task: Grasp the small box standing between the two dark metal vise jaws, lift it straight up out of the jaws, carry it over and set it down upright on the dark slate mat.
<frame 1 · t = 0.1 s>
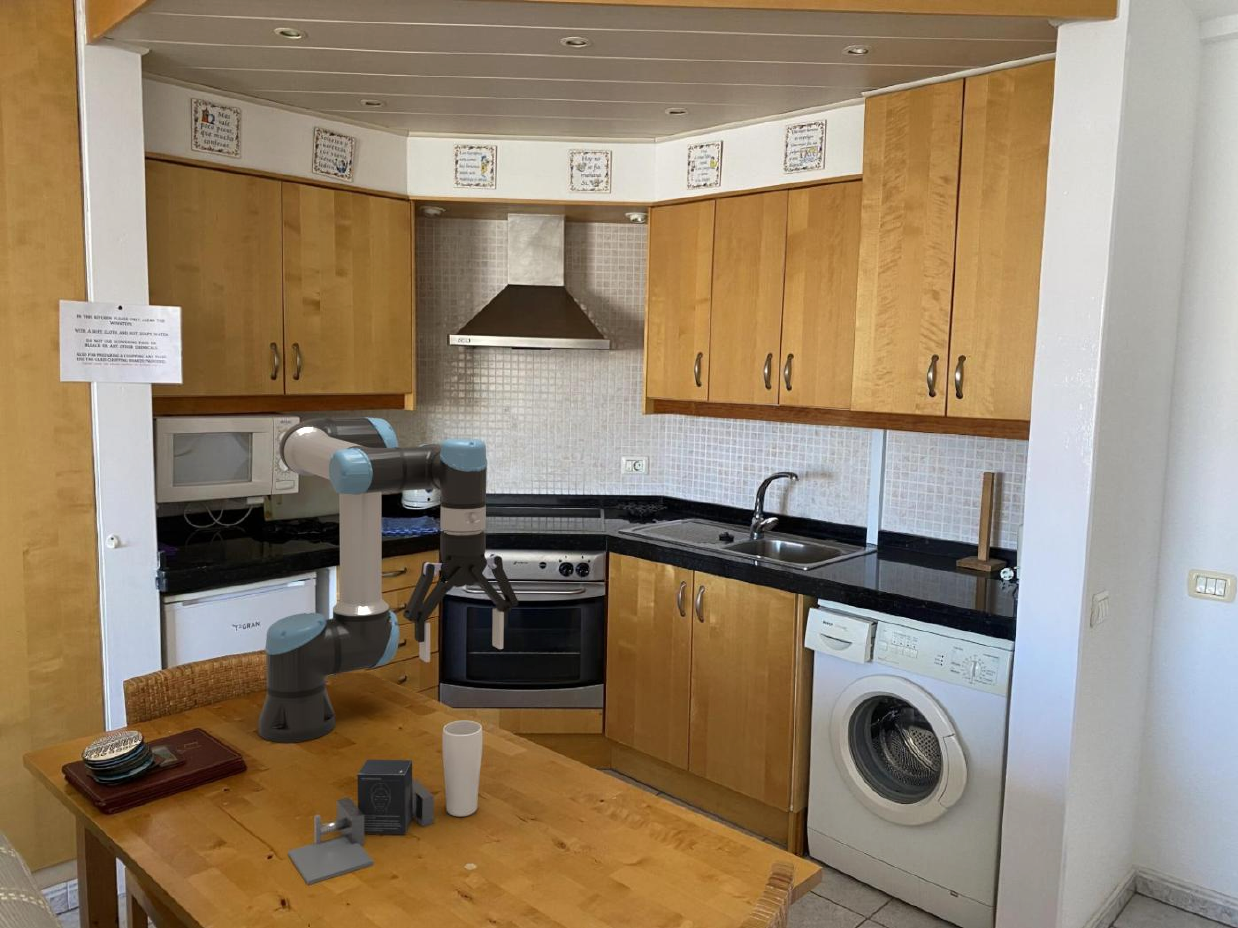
hand: (462, 653, 157), 28 cm above the table, fingers open, 13 cm apart
mat: (330, 859, 143), on the table
drinking glass: (461, 811, 159), on the table
box: (385, 827, 153), on the table
vise: (385, 826, 153), on the table
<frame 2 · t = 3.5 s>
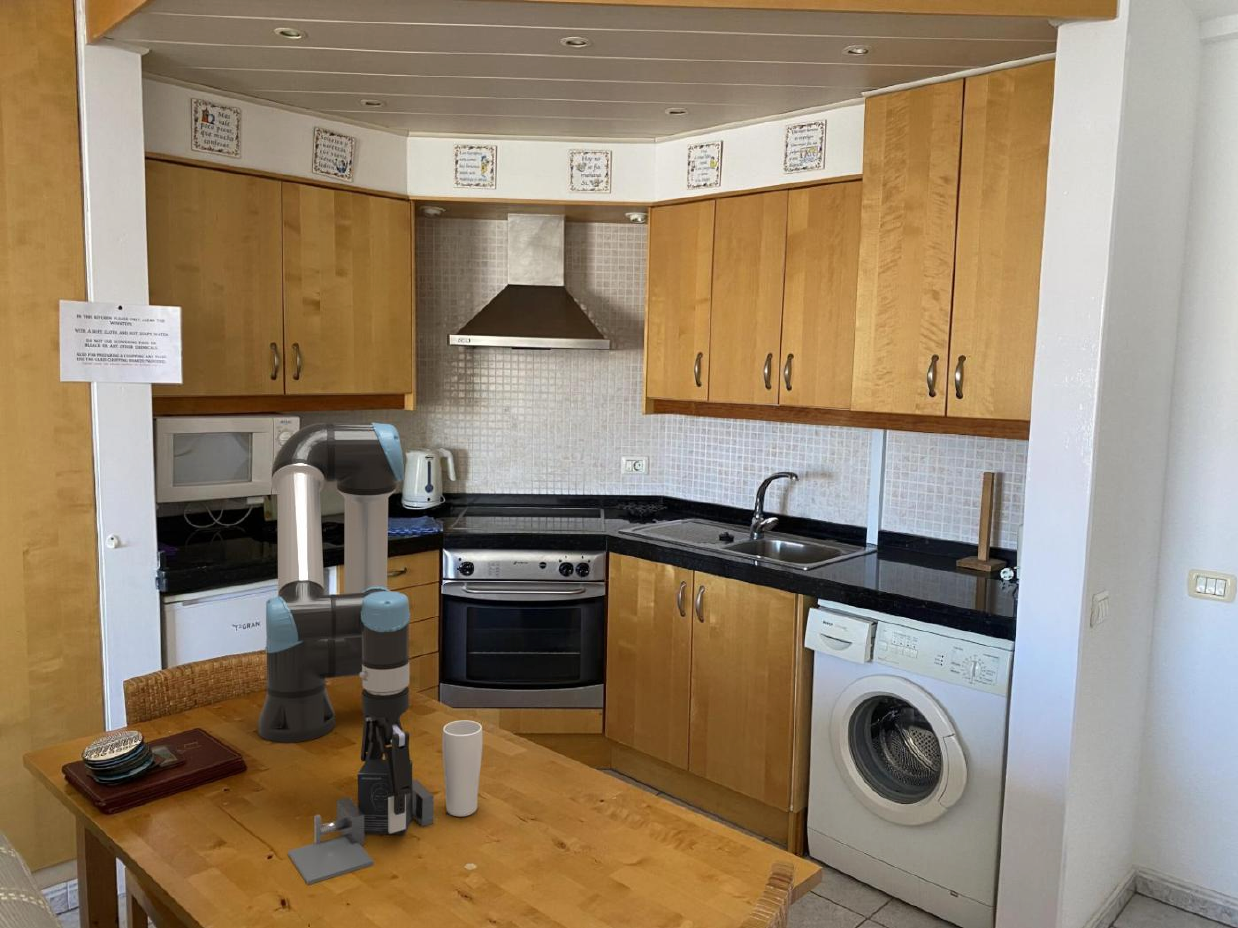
hand: (385, 817, 153), 1 cm above the table, fingers closed on box, 9 cm apart
box: (385, 827, 153), on the table, touching gripper
everything else where it was.
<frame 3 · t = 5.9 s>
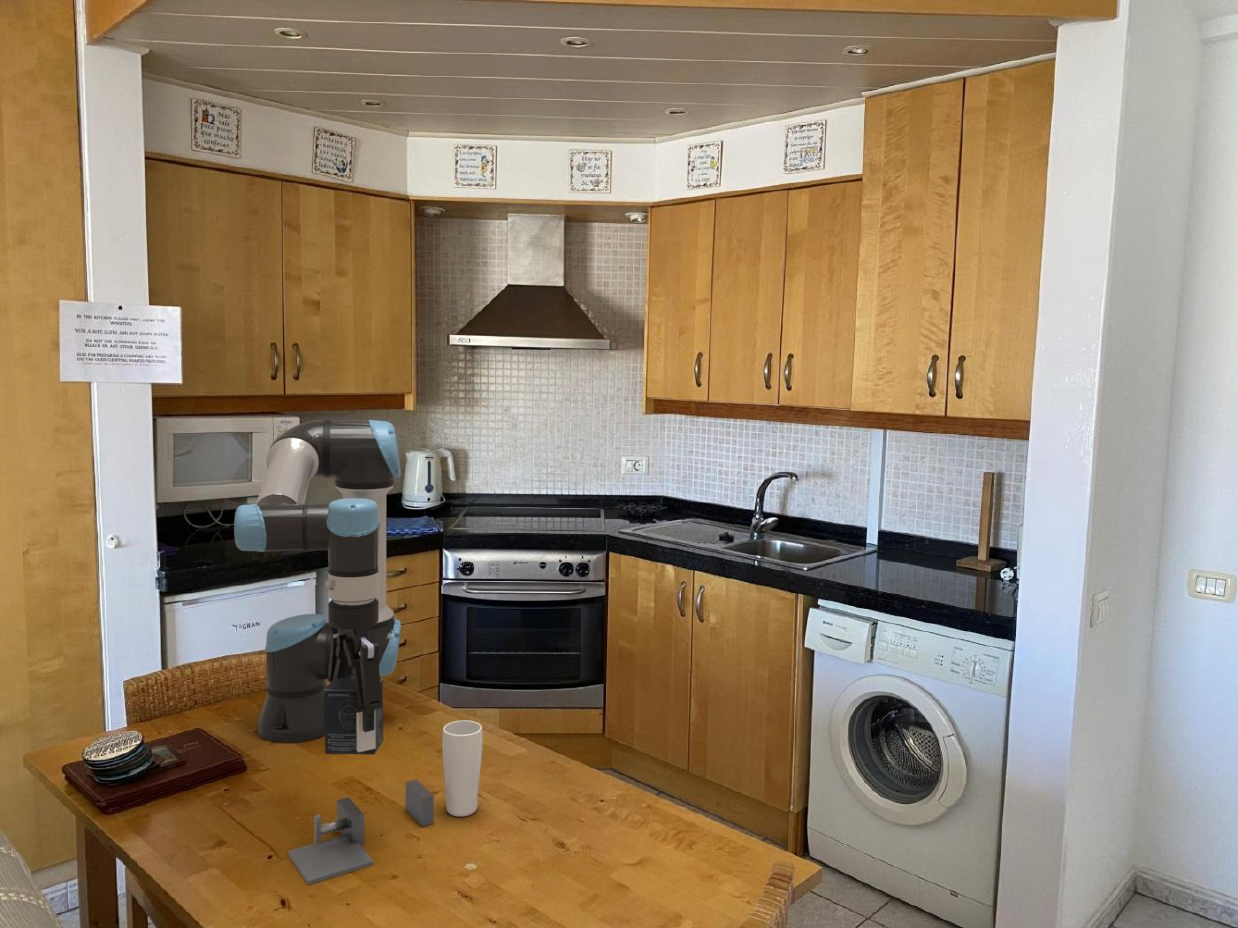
hand: (354, 738, 145), 18 cm above the table, fingers closed on box, 9 cm apart
box: (354, 749, 145), point 16 cm above the table, touching gripper
everything else where it was.
when the fingers open (6 cm above the table, at t = 8.3 s): box drops 3 cm, resting on mat.
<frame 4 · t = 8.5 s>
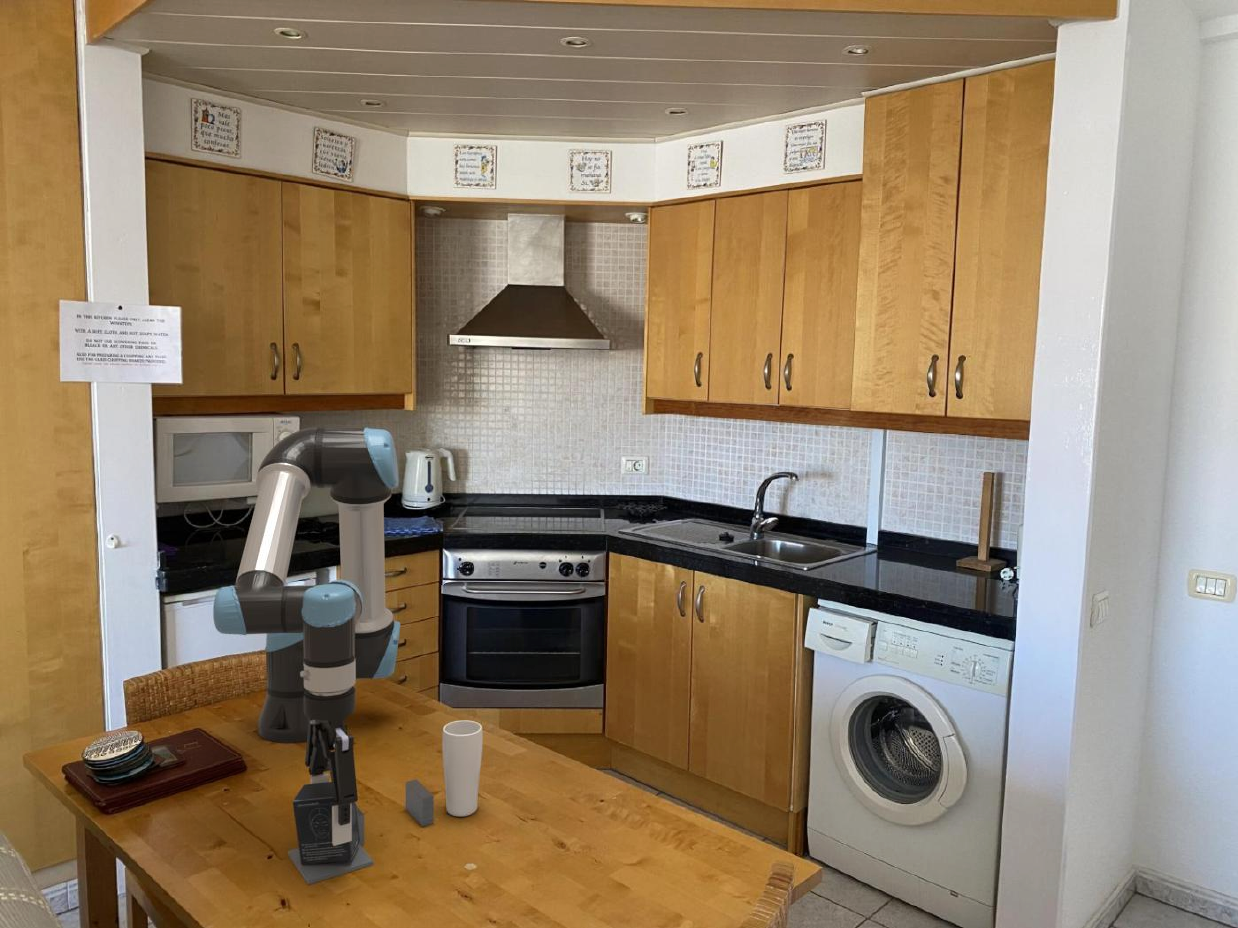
hand: (330, 828, 142), 5 cm above the table, fingers open, 9 cm apart
box: (331, 854, 143), point 1 cm above the table, touching mat
everything else where it was.
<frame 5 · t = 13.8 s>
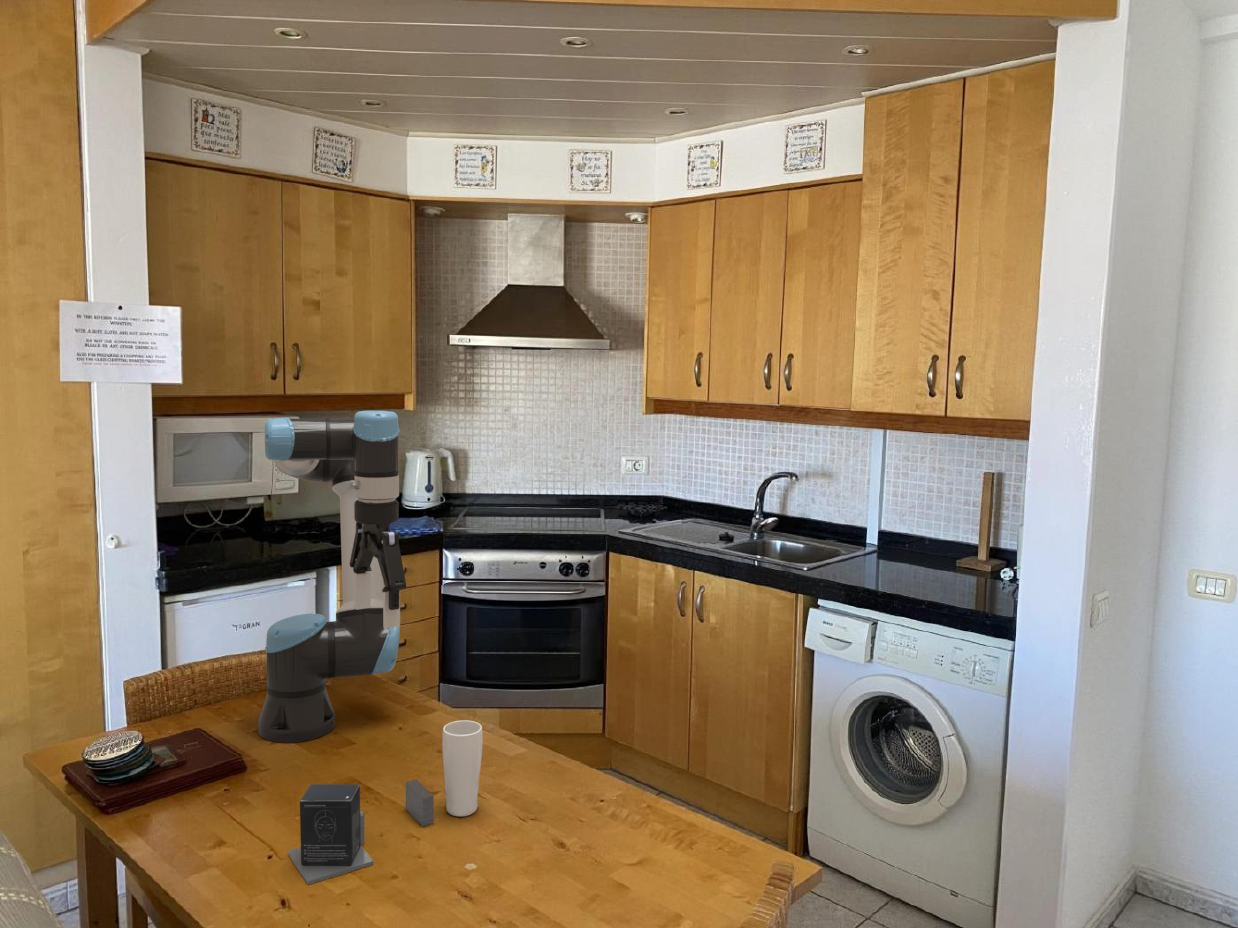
hand: (376, 617, 163), 32 cm above the table, fingers open, 13 cm apart
at the end: box inside the target area on the mat (0.2 cm from its centre), point 0.4 cm above the mat's base; box tilted 0°; the gripper is holding nothing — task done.
